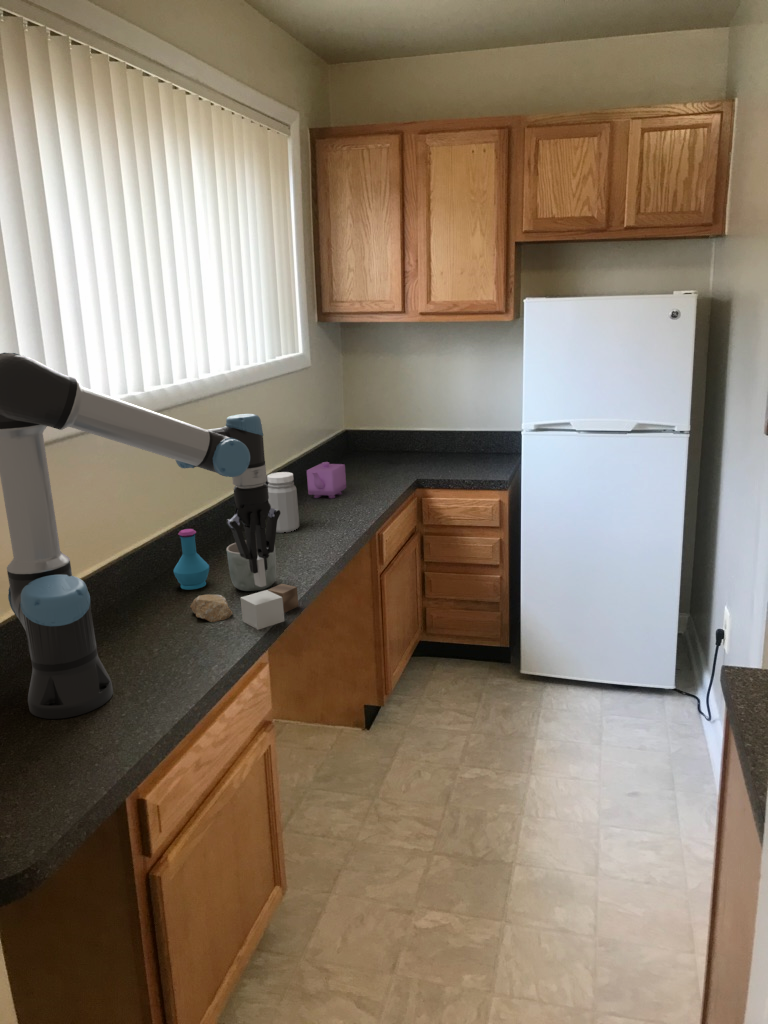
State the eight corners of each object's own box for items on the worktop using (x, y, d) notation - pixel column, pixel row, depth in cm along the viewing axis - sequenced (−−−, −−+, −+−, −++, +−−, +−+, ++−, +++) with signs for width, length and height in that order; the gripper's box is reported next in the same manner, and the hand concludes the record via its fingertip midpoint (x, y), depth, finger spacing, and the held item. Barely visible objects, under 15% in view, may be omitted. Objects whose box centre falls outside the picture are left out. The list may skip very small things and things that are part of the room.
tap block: (258, 630, 190) (255, 605, 188) (242, 621, 195) (240, 597, 193) (284, 621, 194) (282, 597, 192) (268, 613, 199) (266, 589, 198)
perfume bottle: (192, 577, 228) (186, 524, 224) (218, 582, 223) (212, 527, 219) (168, 588, 220) (161, 533, 217) (194, 593, 216) (187, 537, 212)
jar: (295, 533, 265) (291, 477, 260) (265, 533, 267) (260, 478, 262) (303, 525, 274) (299, 471, 270) (274, 525, 276) (269, 471, 271)
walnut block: (284, 613, 199) (282, 593, 197) (269, 609, 202) (267, 589, 200) (298, 606, 203) (296, 586, 201) (283, 602, 206) (281, 583, 204)
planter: (242, 598, 210) (238, 556, 207) (223, 585, 220) (218, 545, 217) (286, 586, 217) (283, 546, 214) (265, 575, 227) (262, 536, 224)
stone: (223, 605, 207) (221, 587, 206) (234, 618, 197) (232, 600, 196) (189, 612, 203) (187, 594, 202) (199, 626, 194) (196, 608, 193)
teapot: (325, 489, 323) (322, 457, 320) (349, 490, 319) (347, 458, 316) (302, 502, 305) (299, 468, 302) (327, 503, 301) (324, 469, 298)
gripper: (232, 492, 179) (243, 596, 185) (284, 481, 187) (293, 581, 193) (215, 487, 185) (227, 588, 191) (266, 476, 193) (276, 574, 199)
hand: (260, 584), depth 192 cm, fingers closed
